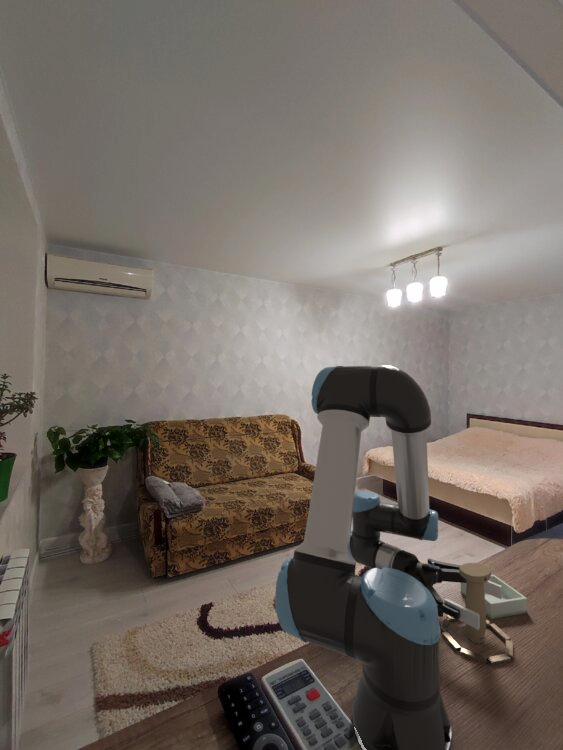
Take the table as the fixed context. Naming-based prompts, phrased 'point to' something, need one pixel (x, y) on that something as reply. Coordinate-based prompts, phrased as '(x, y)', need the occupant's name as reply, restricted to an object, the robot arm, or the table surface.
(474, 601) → the handle
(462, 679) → the table surface
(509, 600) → the bin
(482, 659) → the collar ring
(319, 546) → the robot arm
